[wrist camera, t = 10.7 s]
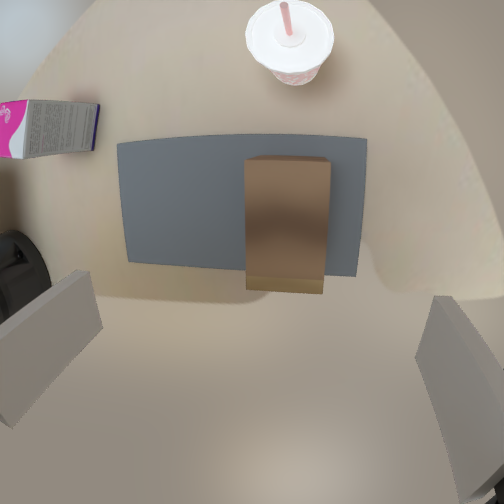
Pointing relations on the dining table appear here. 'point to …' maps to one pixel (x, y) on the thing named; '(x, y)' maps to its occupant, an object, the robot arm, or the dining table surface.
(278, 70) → the beverage cup
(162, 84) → the dining table surface
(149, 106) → the dining table surface
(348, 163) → the slate mat
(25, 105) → the supplement box
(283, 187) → the walnut block
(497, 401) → the robot arm
